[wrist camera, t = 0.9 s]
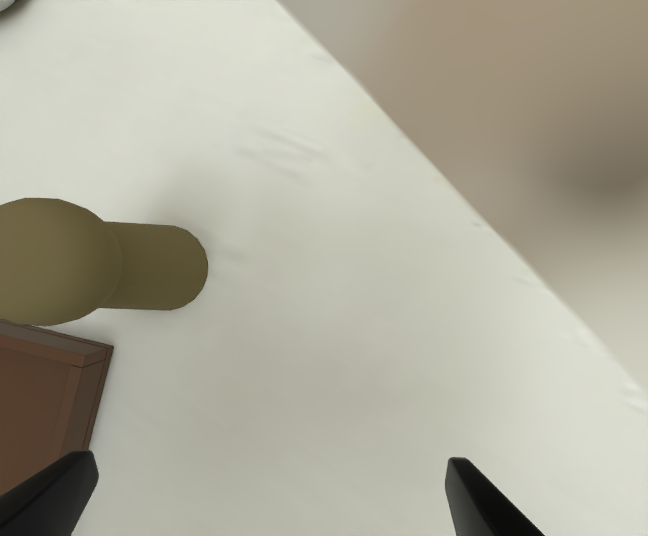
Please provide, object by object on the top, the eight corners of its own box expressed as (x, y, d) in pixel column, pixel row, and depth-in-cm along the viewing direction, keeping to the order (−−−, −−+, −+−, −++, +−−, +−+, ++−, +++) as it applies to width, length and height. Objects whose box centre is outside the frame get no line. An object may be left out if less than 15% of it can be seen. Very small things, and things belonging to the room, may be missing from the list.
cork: (105, 264, 22) (-112, 254, 11) (169, 207, 22) (14, 141, 11) (161, 328, 22) (-4, 380, 11) (225, 270, 22) (124, 265, 11)
